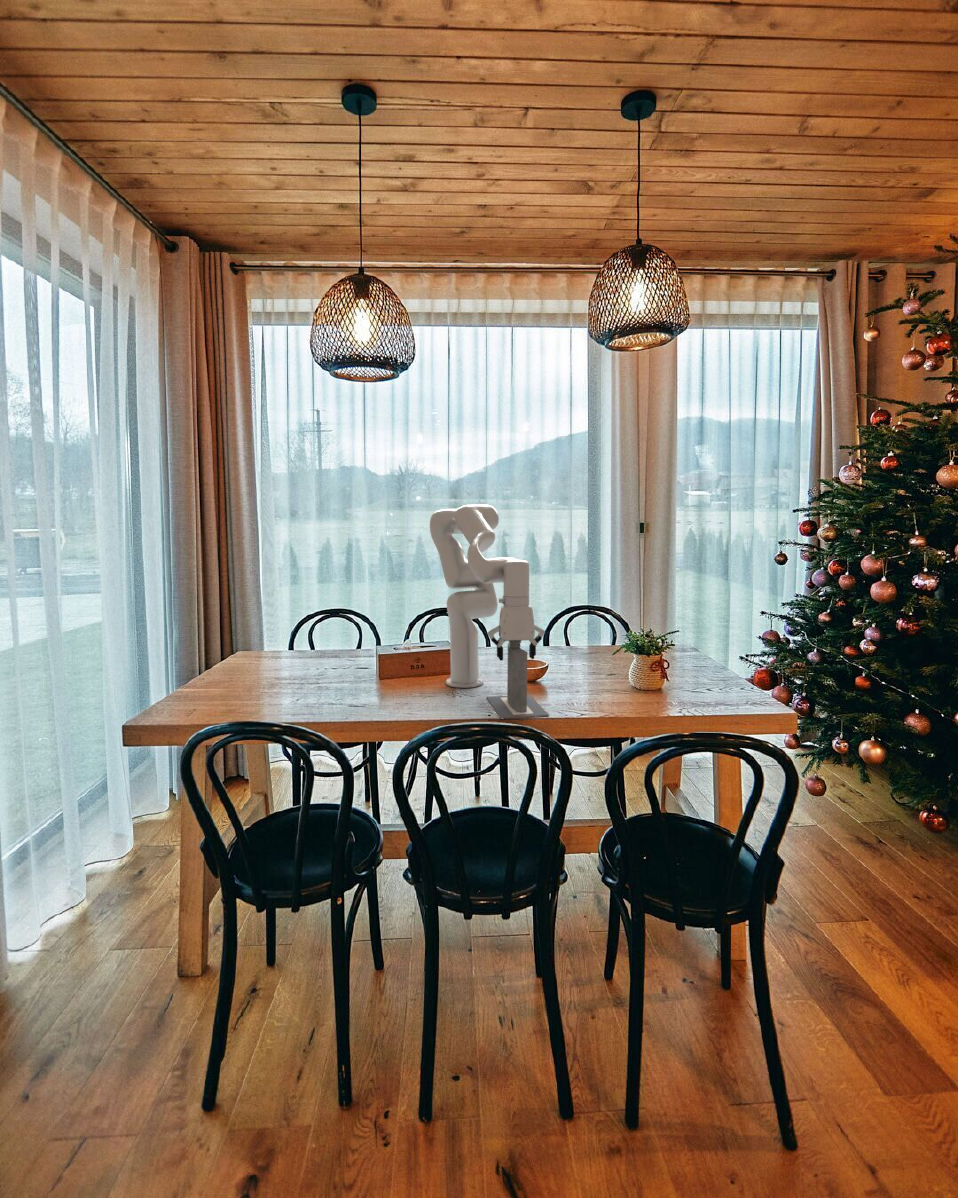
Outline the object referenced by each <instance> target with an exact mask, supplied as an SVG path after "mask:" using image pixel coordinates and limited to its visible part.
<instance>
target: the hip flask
mask: <svg viewBox="0 0 958 1198" xmlns="http://www.w3.org/2000/svg"><path fill="white" fill-rule="evenodd" d="M521 643H522V641H508V643H507V686H506V687H507V693H506V696H507V701H508V704H509V705H510V706H511V708H513V709H514V710H515V711H516V712H520V713H524V712H527V695H528V651H526V650H524V649H522V648H521Z"/></svg>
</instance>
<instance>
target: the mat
mask: <svg viewBox="0 0 958 1198" xmlns="http://www.w3.org/2000/svg"><path fill="white" fill-rule="evenodd" d="M486 699H487V701H488V702H489V704H490V705H491V706H492V709H493V710H494V711H495V712H496V714H497V715H498V717H499V718H500V719H501V718H506V719H505V720H508V719H522V718H523V719H524V718H525V719H527V718H536V717H535V716H544V717H549V716H550V715H549V713H548V712H547V711H546V710H545V709H544V708H543V706H541V704H539V702H538V701H537V700H536V699H535V698H534V697H533V696H532V695H531V694H527V712H524V713H520V712H516V711H515V710H514V709H513V708H511V706H510V705H509V704H508V701H507V695H496V696H486Z"/></svg>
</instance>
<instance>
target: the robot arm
mask: <svg viewBox="0 0 958 1198" xmlns="http://www.w3.org/2000/svg"><path fill="white" fill-rule="evenodd" d="M499 519H500V517H499V513H498V510H497V509H496V508H495V507H494V506H492V505H490V504H466V505H462V506H460V507H458V508H443V509H439V510H436V511H434V512H433V514H431V517H430V521H429V532H430V533H429V534H430V536H431V539H432V542H433V543H434V546H435V547H436V550H437V552H438V556H439V560H440V564H441V567H442V568H441V569H442V573H443V578H444V580H445V584H446V586H447V587H448V588H449V589H452V590H461V591H456V592H453V593H451V594H450V595H449V596H448V598H447V600H446V610H447V615H448V622H449V639H450V641H449V644H450V648H449V649H450V651H449V653H450V657H449V658H450V677H448V678H447V679H446V680H445V683H446V685H447V686H449V687H452V688H459V689H460V688H461V689H465V688H466V689H470V688H475V687H480V686H481V685H483V684H484V679H483V678H482V677H480V675H479V674H480V673H479V631H478V629H477V626H476V625H475V623H474V622H473V620H474V619H483V618H489V617H493V616H495V615H496V613H497V611H498V603H499V604H502V606H501V608H500V612H499V623H498V624H499V625H497V626H495V627H493V628H492V629H490V630H489V631H487V635H488V637H489V639H490V641H491V642H493V644H494V645H495V646H496V657H497V658H498V659H499V660H500V661H501V662H502V661H503V660H504V647H503V644H504V643H505V642H509V641H521V642H522V641H529V643H530V644H529V646H528V648H529V649H528V651H529V652H528V653H529V654H528V655H529V658H530V659H532V660H534V659H535V656H536V655H537V646H538V644H539V643H540V641H542V638H543V637H544V635H545V633H546V631H545V630H544V629H543V628H541V627H539V626H537V625H535V619H534V611H533V610H534V609H533V607H532V606H531V605H530V563H529V562H528V561H527V560H526V559H525V560H524V559H517V558H515V557H511V556H508V557H487V558H485V557H484V556H483V554H482V553H484V552H485V551H487V550H488V549H489V548H491V547H492V546H493V544H494V543H495V540H496V535H495V532H494V530H495V529H497V527H498V525H499V521H500V520H499ZM453 534H454V535H462V534H463V536H464V538H465V539H466V541H467V542H468V544H469V546H468V547H467V548H468V549H467V552H466V553H467V554H466V555H465V551H464V548H463V547H464V546H462V544H461V543H460V542H459V540H457V538H455V537H454V536H453ZM466 556H467V557H466ZM495 583H496V584H498V583H503V595H502V597H499V598H498V599H497V594H496V590H495V585H494V584H495ZM463 589H464V590H463ZM465 589H471V590H465ZM472 589H474V590H472ZM536 632H538V634H537V635H536V636H535V633H536ZM497 633H498V637H499V638H498V639H496V638H495V635H496V634H497Z"/></svg>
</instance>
